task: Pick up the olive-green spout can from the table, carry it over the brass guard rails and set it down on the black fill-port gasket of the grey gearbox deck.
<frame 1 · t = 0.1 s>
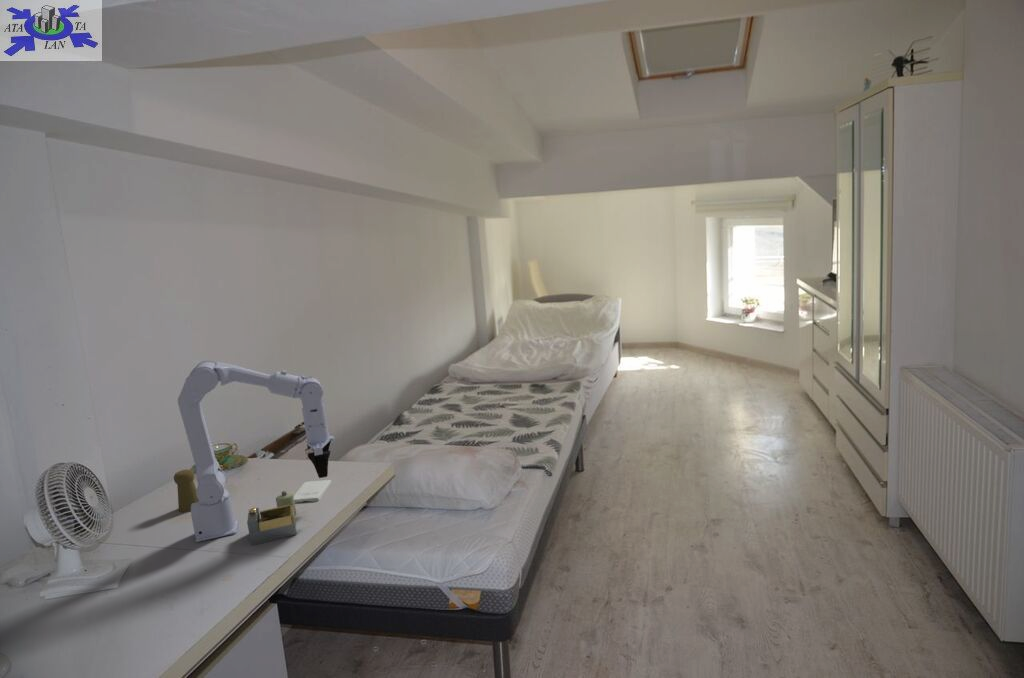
hand: (323, 472, 175), 10 cm above the table, fingers open, 7 cm apart
gearbox: (275, 532, 164), on the table
spout can: (287, 516, 173), on the table
external hard drive: (311, 495, 188), on the table
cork: (190, 508, 186), on the table
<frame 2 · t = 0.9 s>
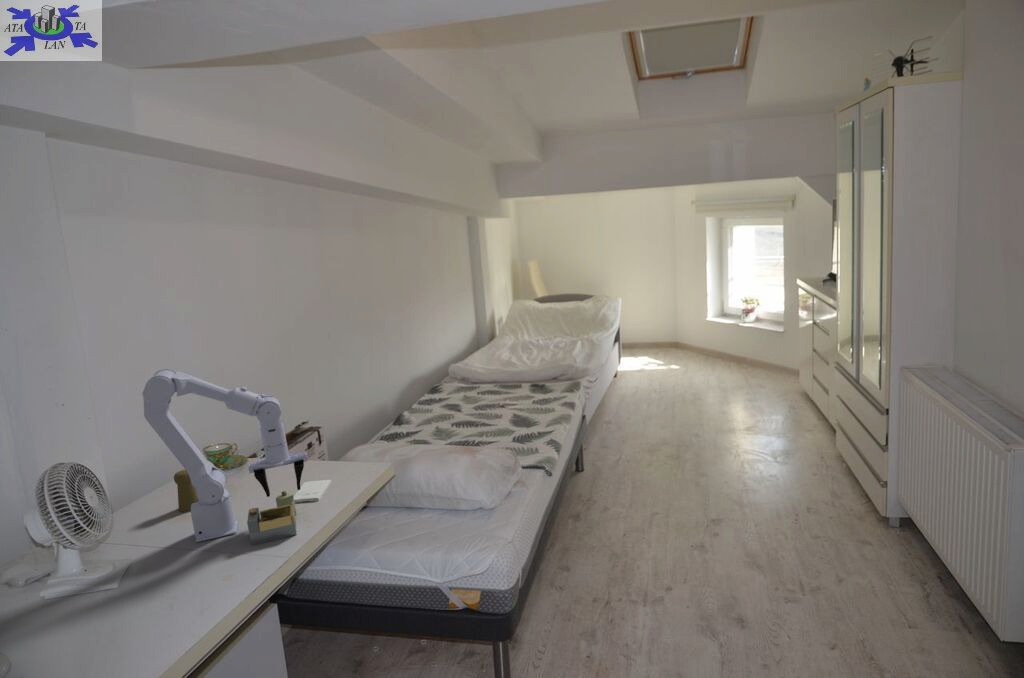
hand: (283, 492, 172), 7 cm above the table, fingers open, 7 cm apart
nothing on the table moved.
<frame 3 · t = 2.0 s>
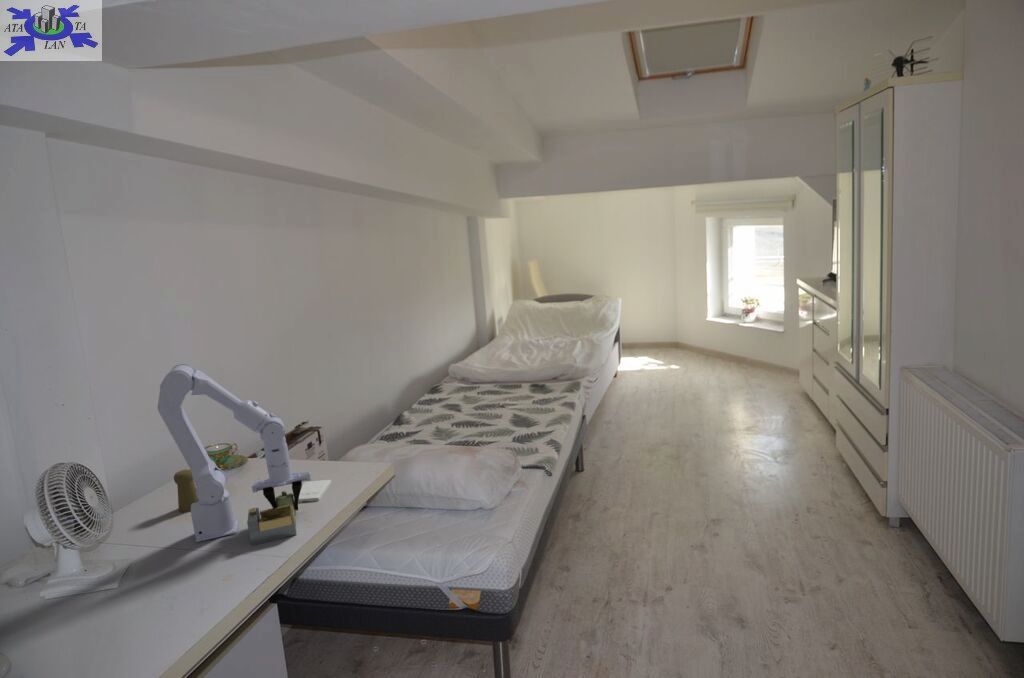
hand: (286, 511, 173), 1 cm above the table, fingers closed on spout can, 4 cm apart
spout can: (287, 516, 173), on the table, touching gripper
everything else where it was.
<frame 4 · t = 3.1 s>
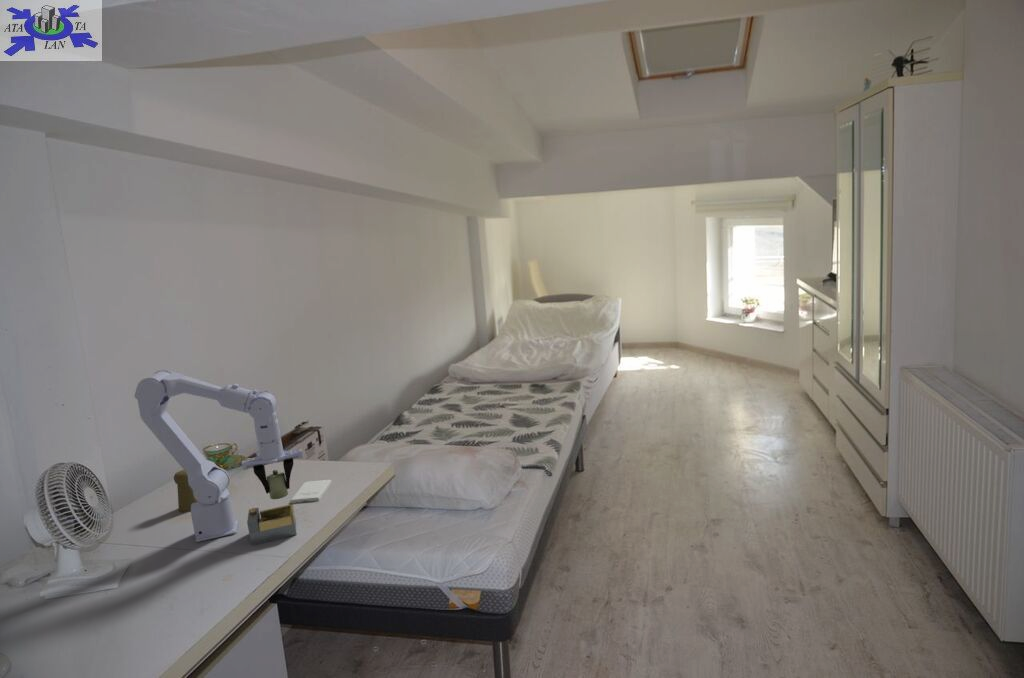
hand: (278, 489, 169), 9 cm above the table, fingers closed on spout can, 4 cm apart
spout can: (279, 495, 169), point 7 cm above the table, touching gripper
everything else where it was.
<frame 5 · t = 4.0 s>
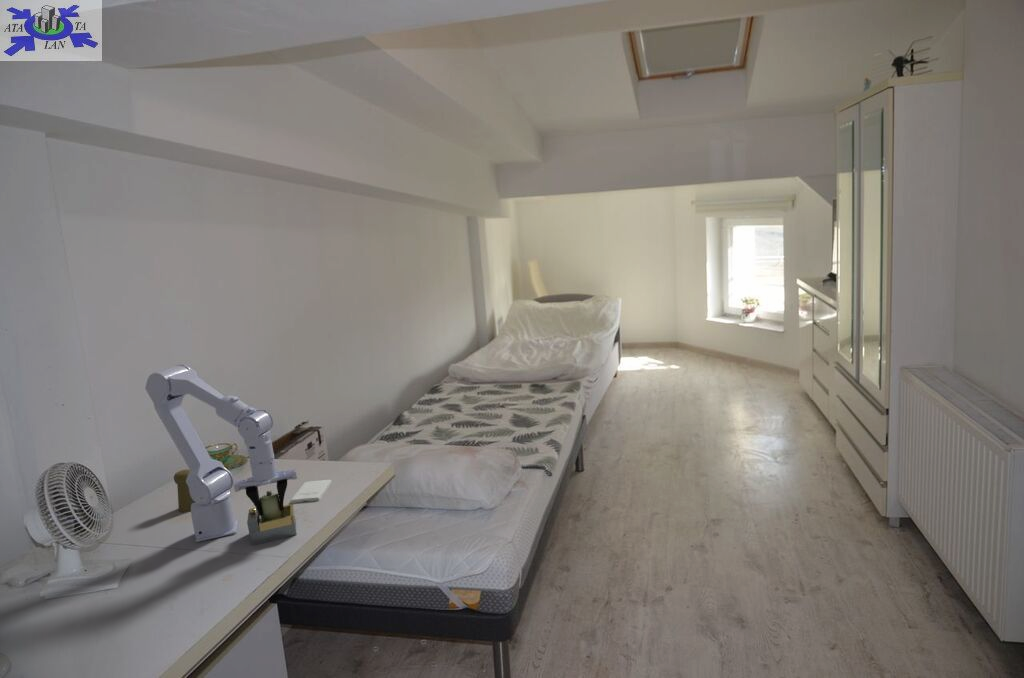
hand: (271, 511, 163), 6 cm above the table, fingers closed on spout can, 4 cm apart
spout can: (272, 517, 164), point 4 cm above the table, touching gripper
everything else where it was.
when the fingers open (6 cm above the table, at t = 4.4 s): spout can stays where it is, resting on gearbox.
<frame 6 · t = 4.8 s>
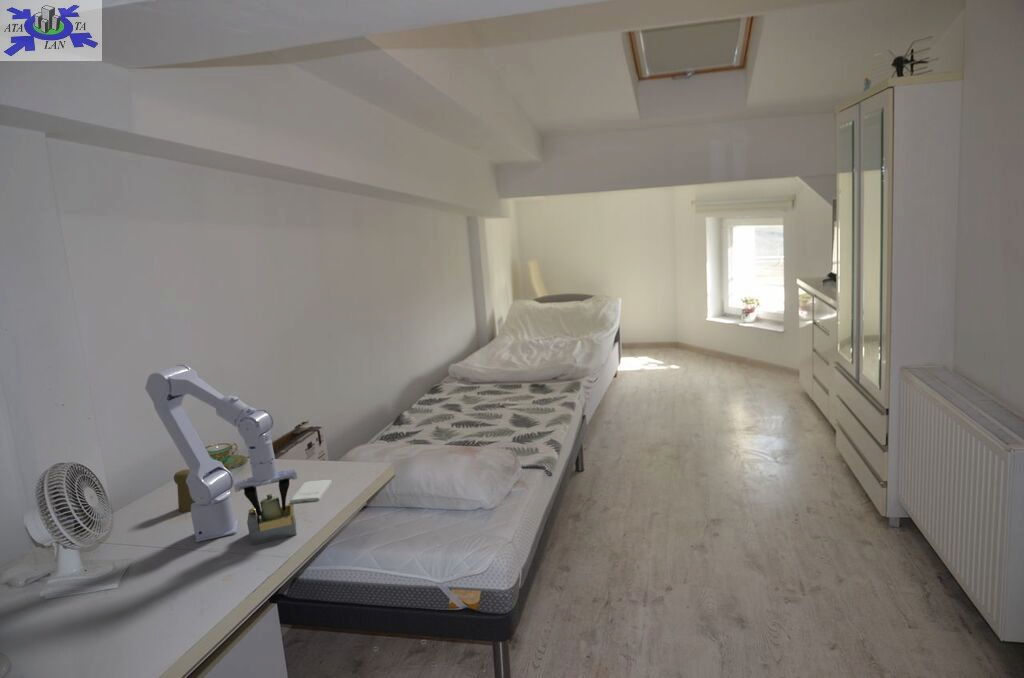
hand: (271, 511, 163), 6 cm above the table, fingers open, 5 cm apart
spout can: (273, 520, 164), point 3 cm above the table, touching gearbox
everything else where it was.
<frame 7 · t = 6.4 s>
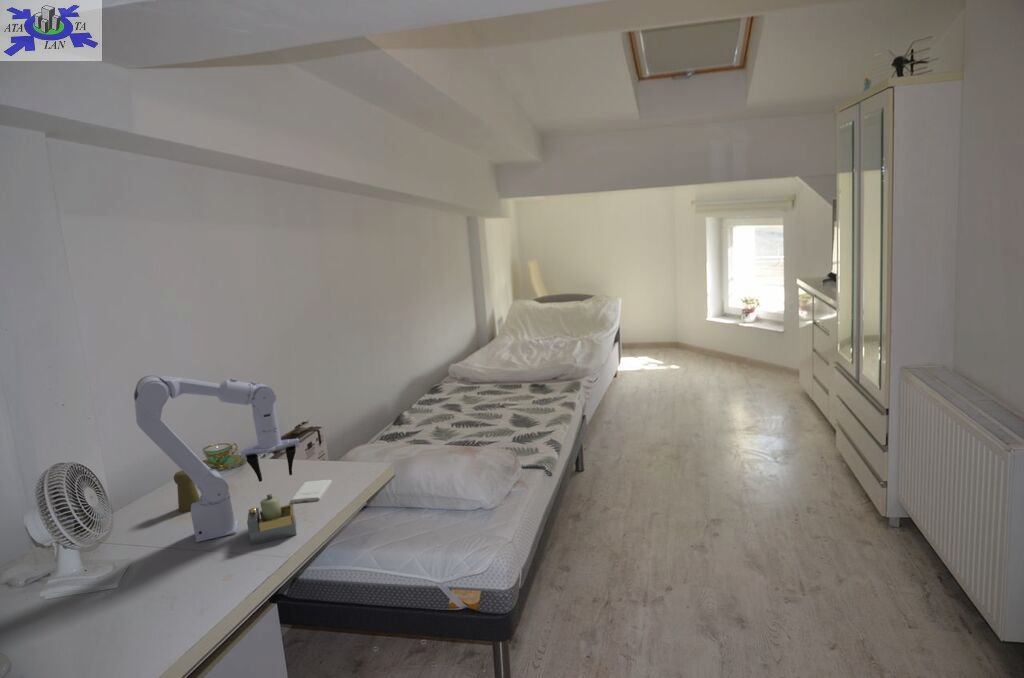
hand: (275, 477, 175), 10 cm above the table, fingers open, 7 cm apart
nothing on the table moved.
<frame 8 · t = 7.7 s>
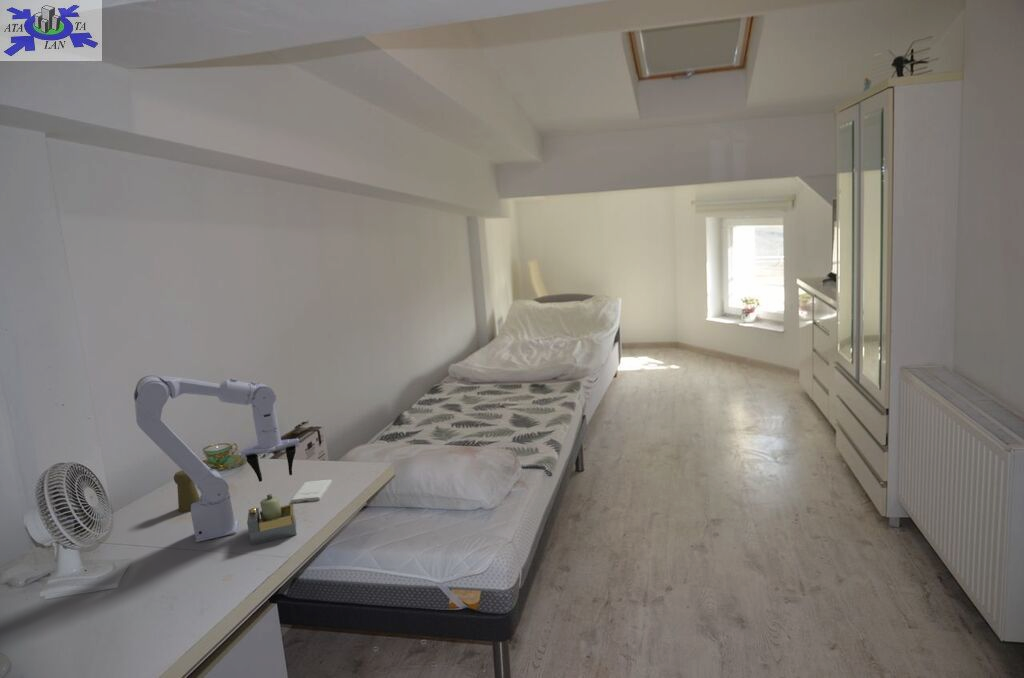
hand: (275, 477, 175), 10 cm above the table, fingers open, 7 cm apart
nothing on the table moved.
at the end: spout can 0.4 cm off-centre on the gearbox, point 3.2 cm above the gearbox's base; spout can tilted 0°; the gripper is holding nothing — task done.
